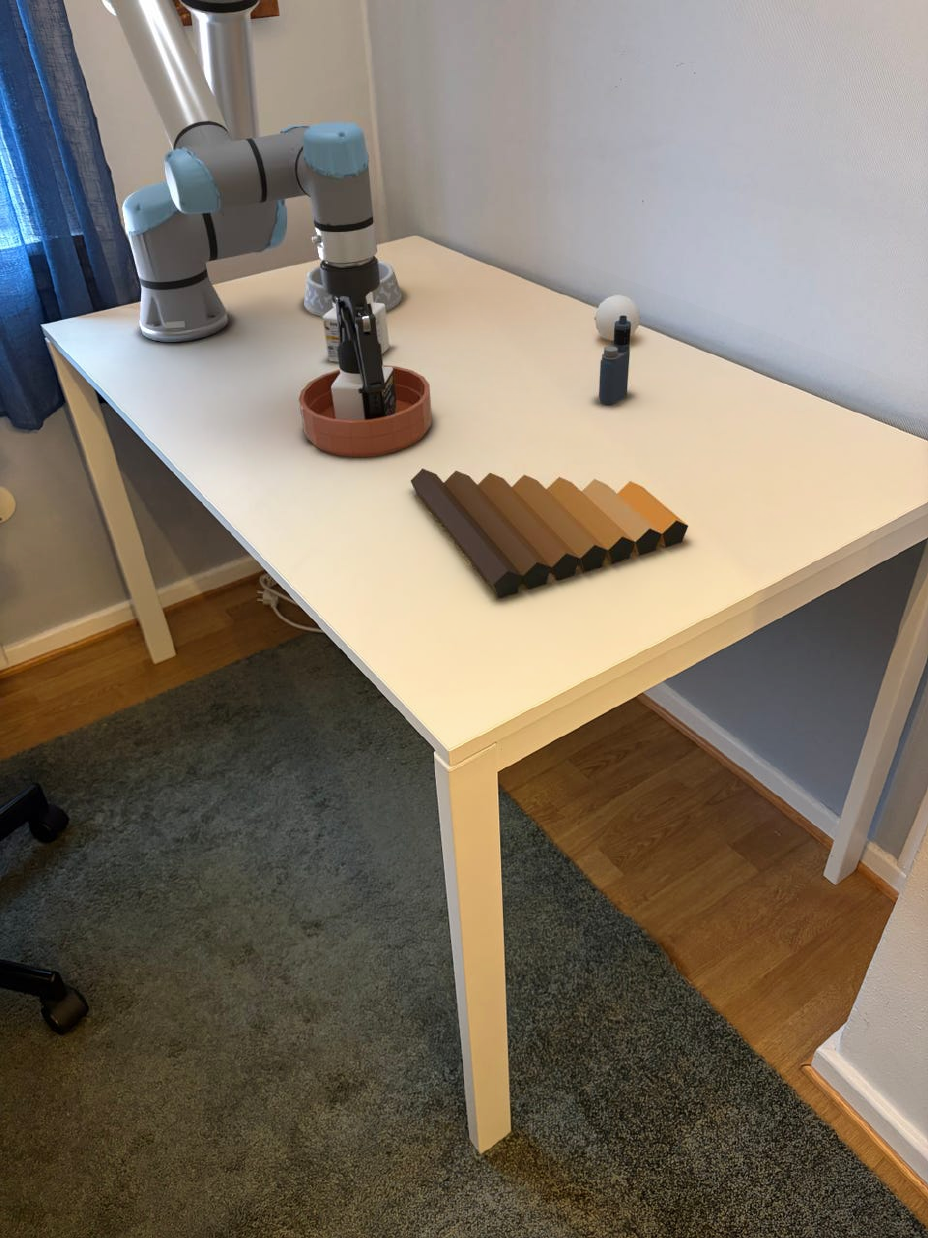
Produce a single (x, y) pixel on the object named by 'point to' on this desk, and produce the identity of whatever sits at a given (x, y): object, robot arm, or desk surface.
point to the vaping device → (615, 364)
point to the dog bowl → (385, 293)
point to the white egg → (616, 315)
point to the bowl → (370, 433)
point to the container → (332, 327)
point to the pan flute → (545, 525)
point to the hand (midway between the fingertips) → (367, 416)
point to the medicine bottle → (357, 386)
